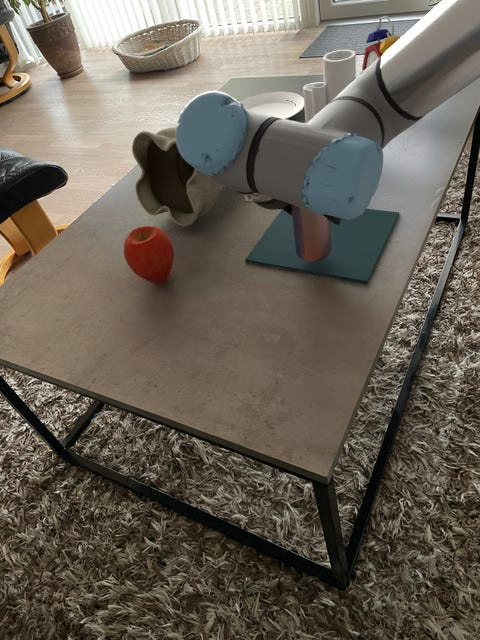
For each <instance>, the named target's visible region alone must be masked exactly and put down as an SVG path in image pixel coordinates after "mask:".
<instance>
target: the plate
mask: <svg viewBox="0 0 480 640" xmlns="http://www.w3.org/2000/svg"><path fill="white" fill-rule="evenodd" d="M286 100H289V101H286ZM290 101H292V102H293V103H292V102H290ZM239 103H242V104H243V106H244V108H245V109H247V110H249V111H252V112H256V113H261V114H265V115H269V116H273V117H277V118H282V119H287V120H289V118H291V117H293V116H295V115H296V114H298V113H299V112H301V111H302V110H303V109H304V108H305V107H304V96H303V95H301V94H298V93H295V92H290V91H270V92H263V93H259V94H255V95H252V96H249V97H246V98H244V99H241V100H239ZM294 103H295V104H296V106H295V104H294Z"/></svg>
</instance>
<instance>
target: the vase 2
mask: <svg viewBox="0 0 480 640" xmlns="http://www.w3.org/2000/svg"><path fill="white" fill-rule="evenodd" d="M356 55H357V53H356V51H355V50H352V49H337V50H332V51H330V52H327V53H325V54H324V55H323V56H322V71H323V73H322V74H323V82H320V81H316V82H309V83H307V84H305V85H303V87H302V92H303V98H304V107H303V108H304V120H305V123H308V122H309V121H310V120H311V119H312V118H313V117H314V116H315V115H316V114H318V113H319V112H320V111H321V110H322V109H323V108H324V107H325V106H326V105H327V104H328V103H330V102H331V101H332V100H333V99H334V98H335V97H336V96H337V95H338V94H339V93H341V92H342V91H343V90H344V89H345V88H346V87H347V86H348V85H349V84H350V82H351V81H352V80H353V79H355V78H356V77H357V64H356V63H357V62H356V60H357V59H356V58H357V56H356Z"/></svg>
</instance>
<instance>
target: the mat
mask: <svg viewBox="0 0 480 640" xmlns="http://www.w3.org/2000/svg"><path fill="white" fill-rule="evenodd" d="M399 217H400V211H391V210H383V209H373V208H366V210H365V211H364V212H363V213H362V214H361V215H360V216H358V217H357V218H355V219H350V220H345V219H342V218H341V221H340V225H337V224H334V223H333V222H332V221H330V223H331V245H332V250H331V252H330V254H329V255H328V256H327V257H326V258H325V259H323V260H321V261H318V262H306V261H304V260H302V259H301V258H299V256H298V255H297V254H296V248H295V239H294V230H293V221H292V216H291V215H290V214H288V213H286V212H285V211H284V210H283V209H280V211H279V213H278V214H277V215H276V216H275V218H274V219H273V221H272V222H271V224H270V225H268V227H267V228H266V230H265V232H264V233H263V235H262V236H261V237H260V239H259V240H258V241H257V242H256V244H255V245H254V247H253V248H252V250H251V251H250V252H249V254H248V255H247V256H246V258H245V259H244V261H245V263H249V264H254V265H260V266H266V267H270V268H271V267H272V268H277V269H283V270H287V271H293V272H299V273H305V274H311V275H315V276H321V277H326V278H333V279H336V280H337V279H338V280H344V281H348V282H355V283H360V284H365V285H366V284H367V285H368V283H369V281H370V279H371V277H372V274H373V272H374V270H375V268H376V266H377V264H378V261H379V260H380V257H381V255H382V253H383V251H384V249H385V247H386V245H387V242H388V240H389V238H390V236H391V235H392V234H391V233H392V232H393V230H394V227H395V225H396V223H397V221H398V219H399Z"/></svg>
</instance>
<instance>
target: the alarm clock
mask: <svg viewBox="0 0 480 640" xmlns="http://www.w3.org/2000/svg"><path fill="white" fill-rule="evenodd" d="M385 19H387V21H388V22H389V24H390V25H391V32H390V31H389V29H387V28H382V20H385ZM378 22H379V25H377V26H376V29H375V30H374V31H372V32H371V33H369V34H368V36H367V39H366V42H365V43H366V44H369V43H372V44H370V45H369V46H367V47H365V49H364V54H363V60H362V66H361V70H362V71H364V70H365V69H367V68H368V67H369V66H370V65H371V64H373V63H374V62H375V61H376V60H377V59H378V58H380V57H381V56H382V55H383V54H384V53H385V52H386V51H387V50H388V49H389V48H390V47H391V46H392V45H394V44H395V43H396V42H397V41H398V40H399V39H400V38H401V37H402V36H399V35H395V24H394V23H393V21H392V20H391V19H390V17H389V16H388V15H384V16H381V17H379V21H378ZM381 40H383V41H381ZM375 42H376V43H375ZM362 71H361V72H362Z"/></svg>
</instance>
